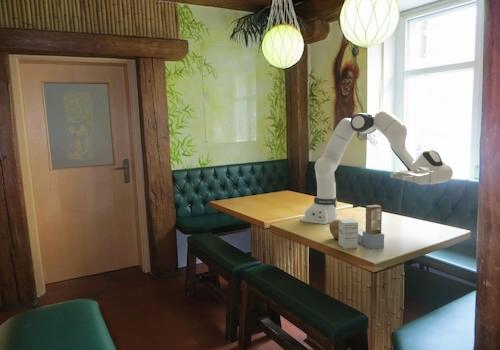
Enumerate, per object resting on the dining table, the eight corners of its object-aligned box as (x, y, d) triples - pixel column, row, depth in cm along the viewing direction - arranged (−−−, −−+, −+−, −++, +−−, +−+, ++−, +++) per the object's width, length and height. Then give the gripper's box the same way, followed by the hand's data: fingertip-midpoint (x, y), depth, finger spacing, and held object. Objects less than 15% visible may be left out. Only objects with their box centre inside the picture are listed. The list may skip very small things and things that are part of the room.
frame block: (376, 230, 186) (377, 204, 184) (381, 233, 182) (381, 206, 181) (365, 231, 185) (365, 205, 183) (369, 234, 181) (370, 207, 179)
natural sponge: (345, 236, 201) (345, 217, 200) (349, 241, 192) (349, 222, 191) (328, 236, 201) (328, 217, 200) (330, 241, 193) (331, 222, 191)
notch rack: (366, 237, 197) (366, 225, 196) (384, 247, 182) (384, 234, 181) (354, 239, 196) (354, 226, 195) (370, 248, 180) (370, 235, 179)
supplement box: (338, 243, 189) (338, 218, 187) (352, 243, 189) (353, 218, 188) (343, 248, 181) (343, 222, 180) (358, 248, 182) (358, 222, 180)
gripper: (408, 167, 199) (384, 168, 196) (435, 171, 180) (410, 173, 177) (408, 179, 200) (384, 180, 197) (435, 185, 181) (409, 187, 177)
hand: (396, 177), depth 187 cm, fingers open, 8 cm apart
